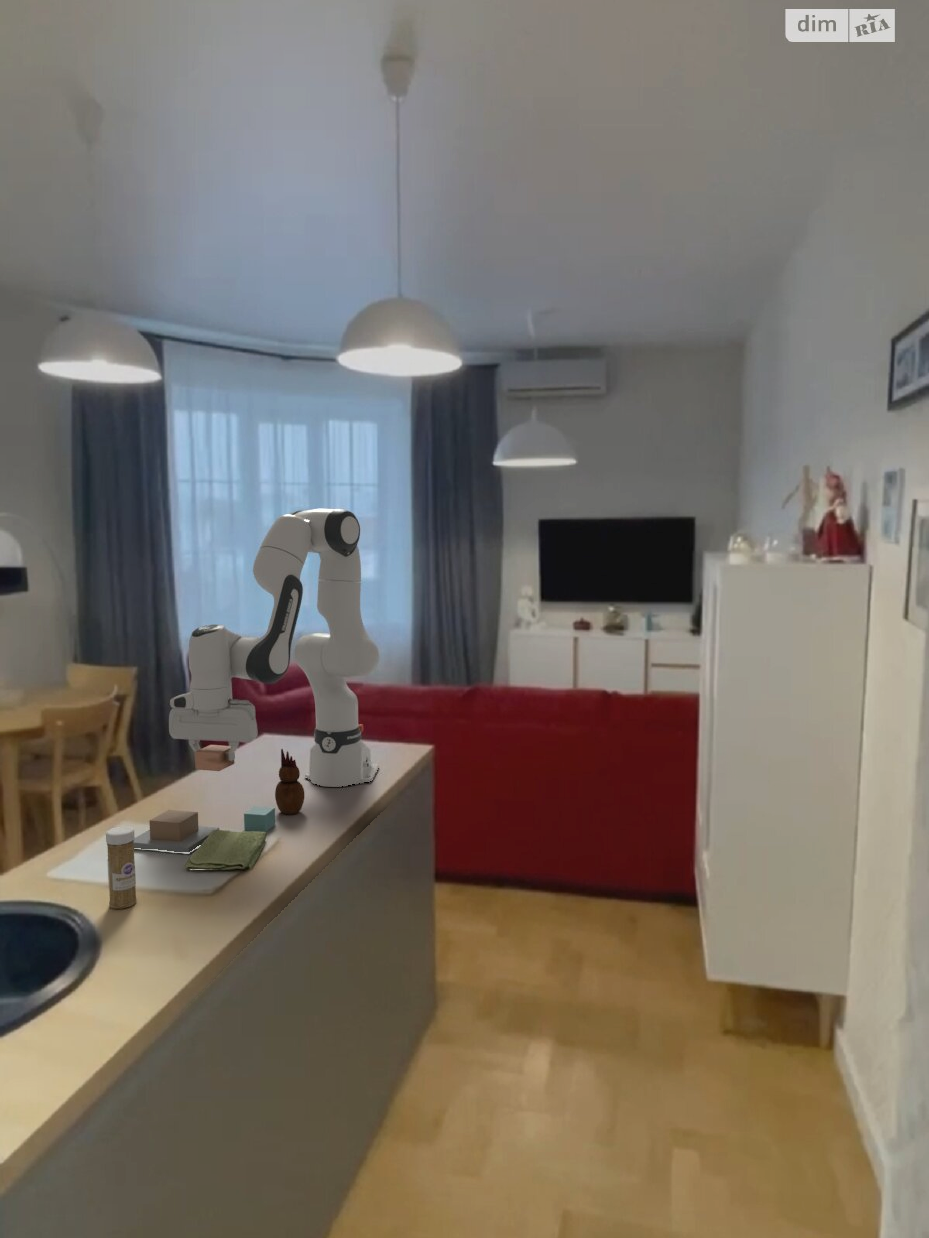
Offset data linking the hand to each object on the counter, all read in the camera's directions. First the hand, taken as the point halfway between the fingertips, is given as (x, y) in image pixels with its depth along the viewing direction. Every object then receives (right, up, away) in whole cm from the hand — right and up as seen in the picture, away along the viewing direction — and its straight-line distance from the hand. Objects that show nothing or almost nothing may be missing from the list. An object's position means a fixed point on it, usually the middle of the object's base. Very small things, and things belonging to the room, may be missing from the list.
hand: (214, 759), depth 185 cm
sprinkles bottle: (-4, -19, -40) cm, 44 cm away
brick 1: (0, -2, 0) cm, 2 cm away
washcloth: (+8, -17, -18) cm, 26 cm away
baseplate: (-5, -16, -10) cm, 19 cm away
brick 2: (+10, -15, -2) cm, 18 cm away
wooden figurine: (+15, -14, +9) cm, 22 cm away
